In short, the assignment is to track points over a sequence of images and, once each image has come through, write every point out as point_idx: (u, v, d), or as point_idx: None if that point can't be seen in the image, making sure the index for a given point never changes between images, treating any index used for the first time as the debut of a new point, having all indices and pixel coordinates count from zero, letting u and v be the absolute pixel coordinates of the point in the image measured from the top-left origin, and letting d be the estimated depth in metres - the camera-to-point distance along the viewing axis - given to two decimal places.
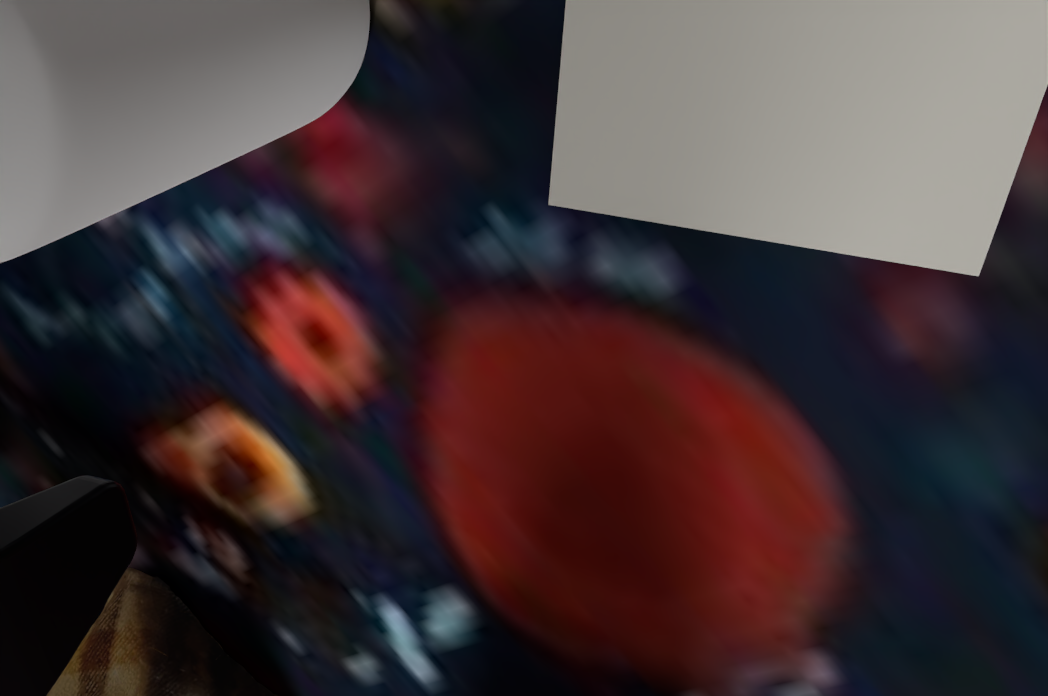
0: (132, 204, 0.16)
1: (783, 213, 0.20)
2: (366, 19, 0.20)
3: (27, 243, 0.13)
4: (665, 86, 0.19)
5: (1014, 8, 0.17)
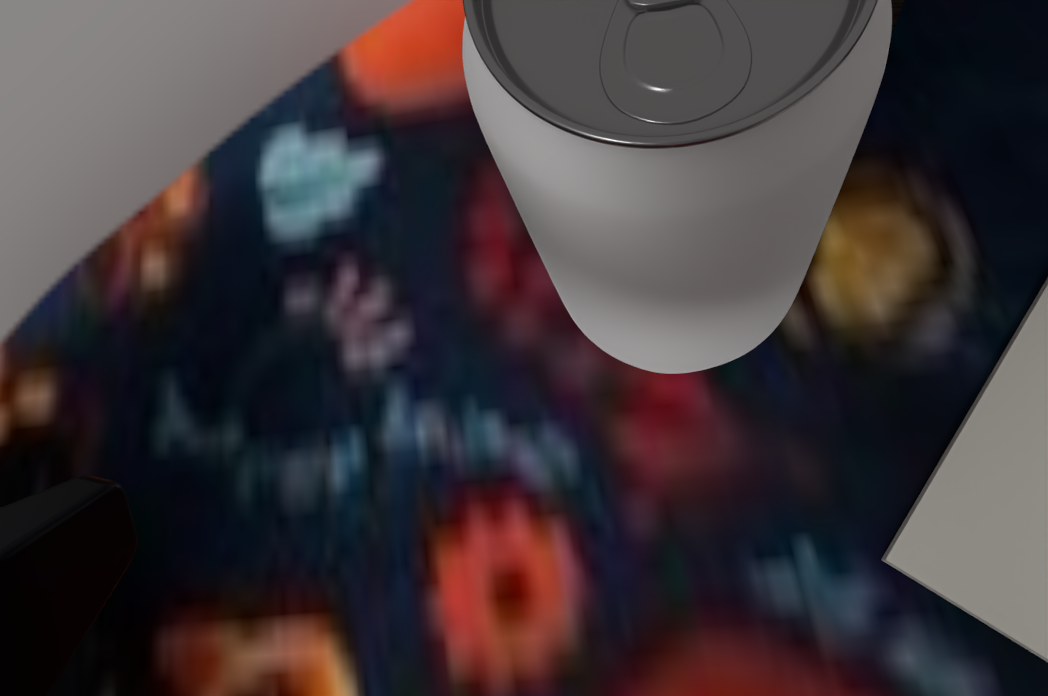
0: (679, 283, 0.15)
1: None
2: (784, 316, 0.21)
3: (706, 214, 0.12)
4: None
5: None
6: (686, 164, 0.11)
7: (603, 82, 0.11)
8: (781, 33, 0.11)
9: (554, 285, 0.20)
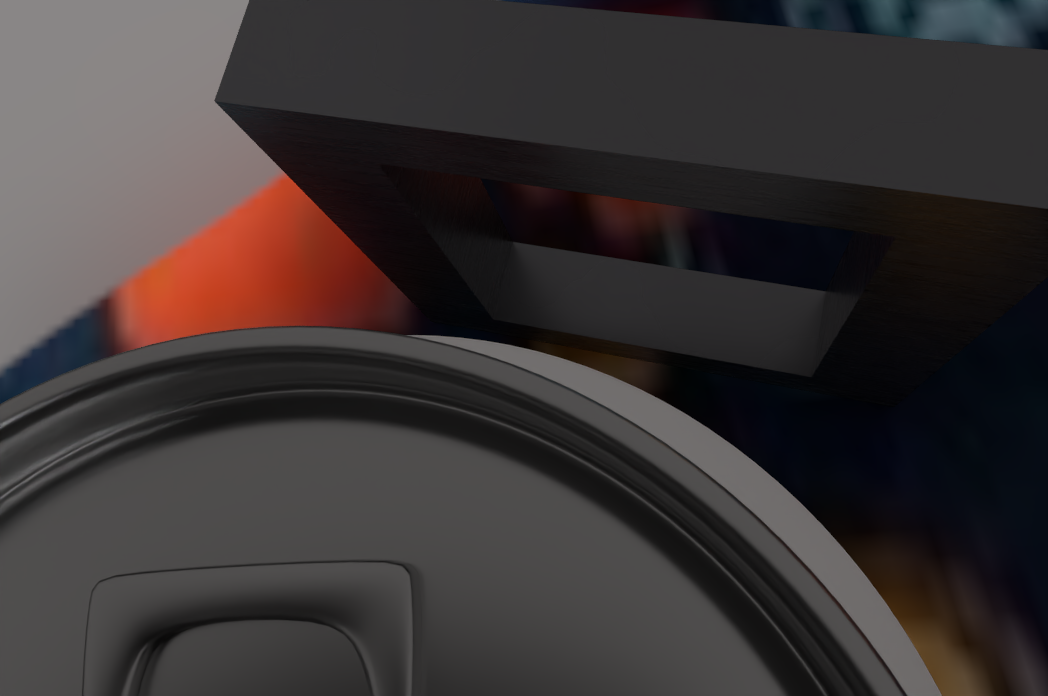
0: None
1: None
2: None
3: None
4: None
5: None
6: None
7: None
8: None
9: None
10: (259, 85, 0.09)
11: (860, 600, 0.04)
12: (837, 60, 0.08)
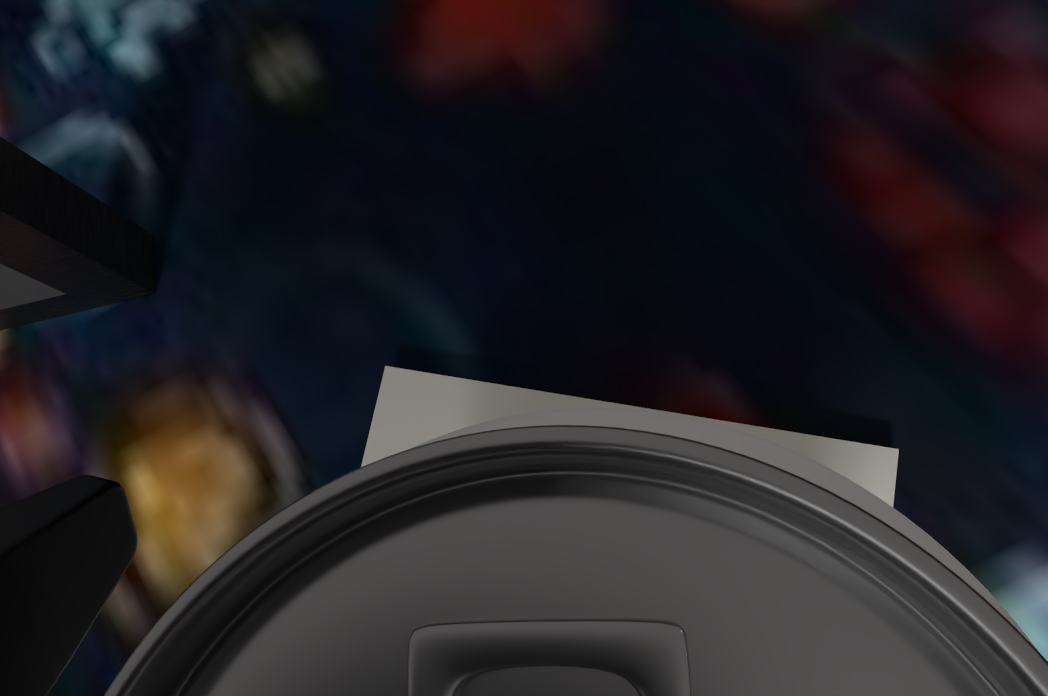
0: None
1: None
2: None
3: None
4: None
5: None
6: None
7: None
8: None
9: None
10: None
11: None
12: None
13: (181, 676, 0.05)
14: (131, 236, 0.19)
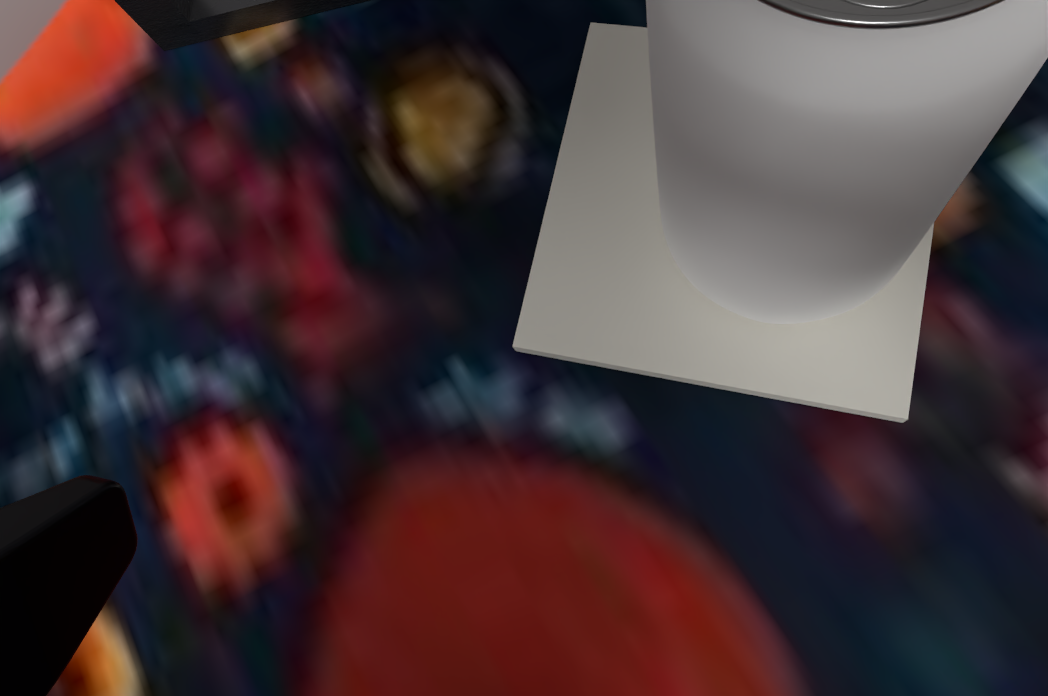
0: (835, 202, 0.14)
1: (727, 357, 0.22)
2: (896, 273, 0.21)
3: (899, 111, 0.12)
4: (626, 249, 0.23)
5: None
6: (893, 52, 0.11)
7: None
8: None
9: (669, 221, 0.20)
10: None
11: None
12: None
13: None
14: None
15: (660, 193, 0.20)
